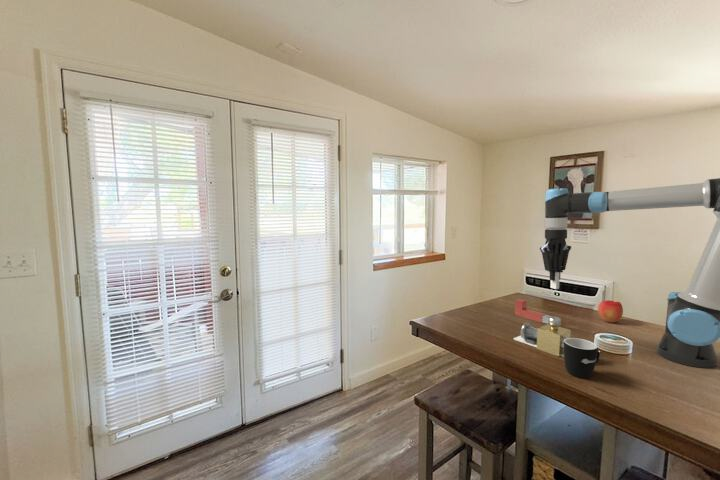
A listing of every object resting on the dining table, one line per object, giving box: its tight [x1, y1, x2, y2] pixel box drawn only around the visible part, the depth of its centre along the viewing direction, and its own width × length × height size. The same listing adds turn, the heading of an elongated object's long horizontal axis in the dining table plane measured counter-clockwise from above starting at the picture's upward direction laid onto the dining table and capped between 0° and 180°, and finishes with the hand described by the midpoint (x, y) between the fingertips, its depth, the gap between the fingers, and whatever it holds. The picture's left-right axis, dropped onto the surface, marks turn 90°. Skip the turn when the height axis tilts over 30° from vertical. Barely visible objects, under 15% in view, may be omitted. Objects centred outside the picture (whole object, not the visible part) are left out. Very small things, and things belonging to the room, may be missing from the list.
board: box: [513, 334, 601, 358], centre depth 128 cm, size 25×15×1 cm, turn 34°
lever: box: [514, 298, 562, 327], centre depth 128 cm, size 17×4×6 cm, turn 31°
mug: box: [563, 337, 601, 379], centre depth 107 cm, size 12×9×10 cm
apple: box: [597, 299, 624, 323], centre depth 153 cm, size 10×10×10 cm
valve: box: [519, 322, 572, 357], centre depth 124 cm, size 22×8×10 cm, turn 34°
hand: (554, 288), depth 131 cm, fingers closed
